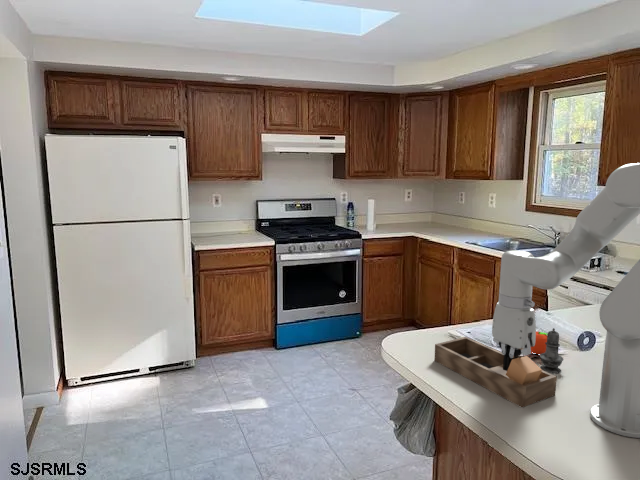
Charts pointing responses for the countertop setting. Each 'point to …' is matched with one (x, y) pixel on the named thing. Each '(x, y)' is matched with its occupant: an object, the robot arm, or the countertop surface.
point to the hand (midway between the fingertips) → (509, 369)
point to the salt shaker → (551, 354)
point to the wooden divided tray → (492, 371)
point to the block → (523, 370)
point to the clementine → (540, 343)
